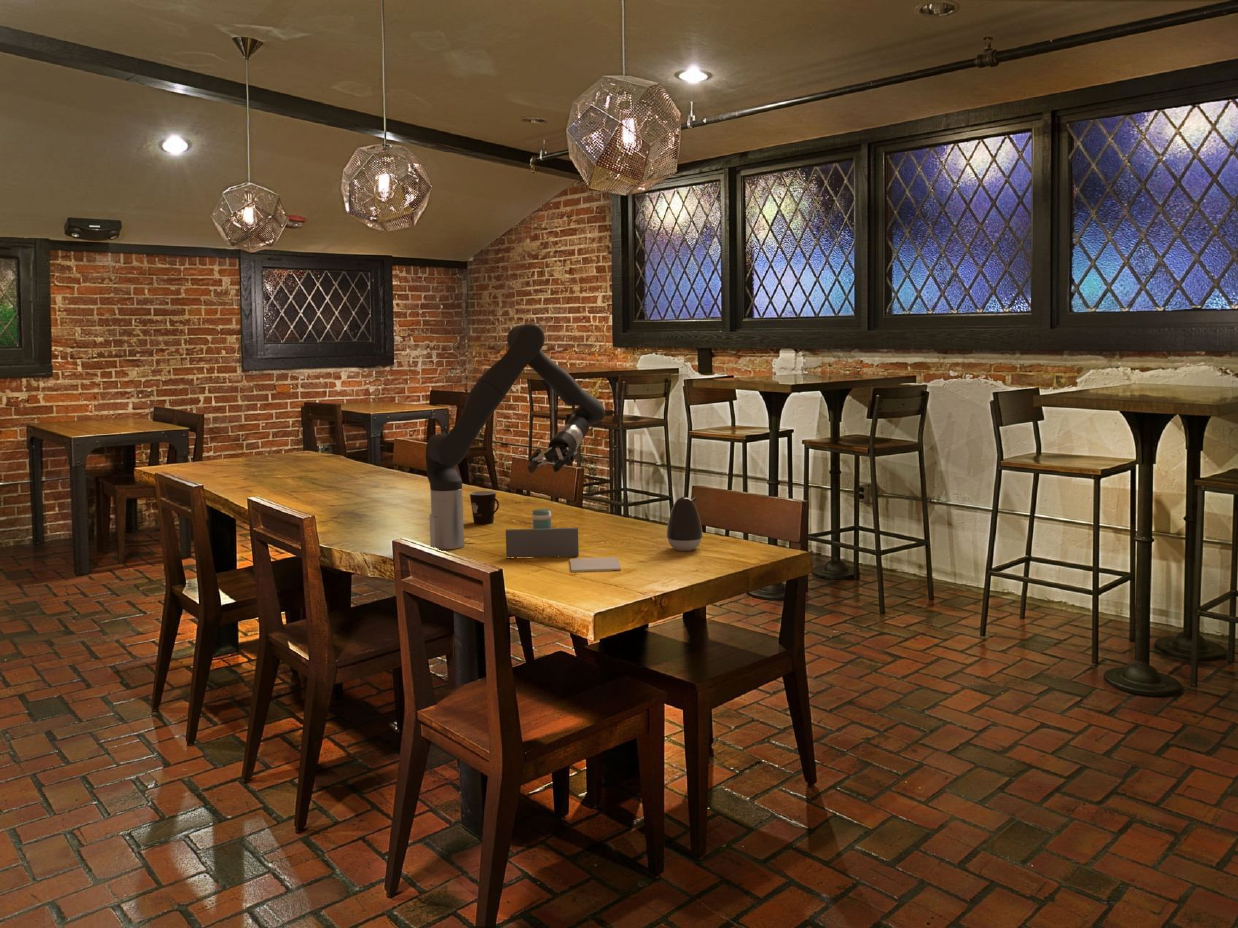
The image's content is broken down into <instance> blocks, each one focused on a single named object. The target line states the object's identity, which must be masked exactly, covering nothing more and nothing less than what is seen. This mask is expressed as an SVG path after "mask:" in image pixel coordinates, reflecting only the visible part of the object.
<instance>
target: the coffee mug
mask: <svg viewBox="0 0 1238 928" xmlns="http://www.w3.org/2000/svg"><path fill="white" fill-rule="evenodd" d="M496 493H497V492H496V491H493V490H476V491H471V492H469V498H470V506H471V512H472V519H473V524H474V525H480V526H481V525H484V526H485V525H492V524H494V520H495V513H497V511H498V510H499V508H500V503H499V500H498V499H497V497H496V496H497V494H496ZM495 506H496V507H495Z"/></svg>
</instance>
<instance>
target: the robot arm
mask: <svg viewBox="0 0 1238 928" xmlns="http://www.w3.org/2000/svg"><path fill="white" fill-rule="evenodd" d="M545 339H546V337H545V332H544V329H543V328H542V327H540V326H539V325H538V324H535V323H525V324H521V325H517V326H515V327H512V328H510V330H509V331H508V333H507V336H506V344H507V346H508V349H507V350H506V352H505V354H504V355H503V356H502V357H501V358H500V359H498V361H496V362H495V363H494V364H493V365H492V366H490V367H488V368H487V370H486V371H485V372H483V374H482V375H481V376H480V377H479V378H478V380H477V381H476V382H475V383H474V385H473V387H472V388H471V389H470V391H469V393H468V395H467V396H466V399H465V403H464V406H463V410H462V413H461V416H459V417H460V418H459V419H458V421H457V422H456V423H455V424H454V426H453V427H452V429H450V430H449V432H448V433H436V434H434V435H432V436H431V437H430V438H429V439H428V440H427V443H426V445H425V465H426V467H425V468H426V476H427V481H428V482H429V487H430V492H429V493H430V509H431V510H430V514H429V531H430V532H429V536H430V539H429V540H430V547H432V546H433V547H436V548H439V549H438V550H454V549H460V548H463V547H465V531H464V530H465V528H464V526H465V525H464V500H463V497H464V496H463V479H462V478H461V477H460V475H459V474H458V472H457V469H456V468H457V467H456V466H457V465H459V464H460V463H461V462H462V461H464V458H465V457H466V455H467V454H468V452H469V450H470V448H471V447H472V445H473V443H474V441H475V440H476V438H477V436H478V434H479V433H480V431H481V430H482V428H483V427H484V426H485V425H486V424H487V422H488V420H489V419H490V417H491V416H492V415H493V414H494V413H495V411H496V410H497V408H498V407H499V406H500V405H501V403H502V401H503V400H504V399H505V397H506V396H507V394H508V392H509V391H510V389H511V388H512V387H513V386H514V384H515V383H516V382H517V379H518V378H519V377H520V375H521V373H523V371H524V369H526V368H527V366H529V368H531V369H532V370H533V371H535V373H536V374H537V375H539V376H540V378H542V380H543V381H545V383H546V384H547V385H548V386H549V387H550V388H551V390H552V391H553V392H554V393H556V396H558V397H559V399H560V400H561V401H562V402H563V403H564V404H565V405H566V406H569V407H573V406H578V407H576V408H575V409H573V411H572V412H571V415H570V417H569V419H568V421H567V422H566V424H564V425H563V426H562V427H561V428H560V429H559V430H558V432H557V433H555V435H554V436H553V437H552V438H551V440H549V443H548V447H547V448H545V449H544V450H541V448H537V449H536V450H535V451H534V452H533V453H532V454H531V455H530V456H529V457H528V462H529V465H528V466H527V469H528V472H529V474H533V473H534V472H535V471H536V470H537V469H538V467H539V466H541V465H543V466H544V465H547V464H549V463H552V462H553V465H552V470H553V472H554V473H558V472H559V471H560V470H561V469H562V468H563V467H565V466H566V465H568V466H570V465H572V464H573V462H574V461H575V460H576V458H577V457H578V455H579V453H578V450H577V449H578V447H579V446H580V445H581V442H582V441H583V440H584V439H585V437H586V436H587V434H588V433H589V431H590V427H591V426H593V425H595V424H598V423H600V422H602V421H603V420H605V417H606V409H605V407H604V405H603V403H602V402H601V401H600V400H598V398H596V397H595V396H593V395H592V394H590V392H588V391H586V390H585V389H583V388H582V387H581V386H580V385H579V384H578V383H577V381H576V380H575V379H574V378H573V377H572V375H570V374H569V372H567V371H566V370H565V369H564V368H562V367H561V366H559V364H557V363H556V362H554V361H553V360H552V359H551V358H549V357H548V356H547V355H546V354H545V353H544V351H543V350H542V349H543V347H544V345H545ZM544 457H545V459H544ZM539 460H540V461H539ZM433 547H432V548H433Z"/></svg>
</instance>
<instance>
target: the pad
mask: <svg viewBox="0 0 1238 928" xmlns="http://www.w3.org/2000/svg"><path fill="white" fill-rule="evenodd" d="M569 562H570V571H571V573H585V572H584V571H593V572H611V571H610V570H621V571H622V568H621V563H620V560H619V558H618V557H587V558H583V557H582V558H570V559H569Z"/></svg>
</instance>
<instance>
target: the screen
mask: <svg viewBox="0 0 1238 928" xmlns="http://www.w3.org/2000/svg"><path fill="white" fill-rule="evenodd" d="M505 547H506V548H505V551H506V552H505V555H506V556H505V557H510V558H511V557H514V558H517V557H554V558H568V557H567V556H579V555H580V554H579V549H580V548H579V527H553V528H552V527H551V528H542V529H533V528H516V529H515V528H514V529H511V528H510V529H507V528H506V529H505ZM558 556H559V557H558Z"/></svg>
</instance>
